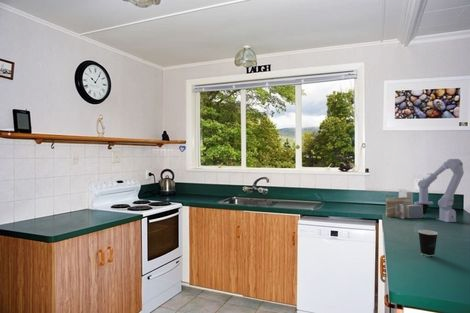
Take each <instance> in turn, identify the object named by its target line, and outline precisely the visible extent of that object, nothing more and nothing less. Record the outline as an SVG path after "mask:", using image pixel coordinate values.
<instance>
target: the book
mask: <svg viewBox="0 0 470 313" xmlns="http://www.w3.org/2000/svg"><path fill="white" fill-rule="evenodd" d="M423 216H424V214H423V205H414V204H413V205H405V206H404V218H407V219H415V218H416V219H419V218H423Z"/></svg>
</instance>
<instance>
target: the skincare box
mask: <svg viewBox="0 0 470 313" xmlns="http://www.w3.org/2000/svg"><path fill="white" fill-rule="evenodd" d="M401 197H410V198H411V205H414V191H410V190H407V189H401V188H400V189H398V198H401Z"/></svg>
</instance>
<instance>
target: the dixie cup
mask: <svg viewBox="0 0 470 313" xmlns="http://www.w3.org/2000/svg"><path fill="white" fill-rule="evenodd" d="M417 233H418V237H419V238H418V239H419V246H420V248H419V249H420V253H423V254H426V255H434V256H435V253H436V247H437V240H438V239H437V238H438V234H439V233H438V232H437V231H434V230H428V229H418V230H417Z"/></svg>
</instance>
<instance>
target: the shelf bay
mask: <svg viewBox="0 0 470 313" xmlns="http://www.w3.org/2000/svg"><path fill="white" fill-rule="evenodd" d="M405 205H411V198H410V197H401V198H399V197H386V198H385V218H391V217H392V218H394V217H395V218H399V219H401V220H402V219H403V220H405V217H404V206H405Z"/></svg>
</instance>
